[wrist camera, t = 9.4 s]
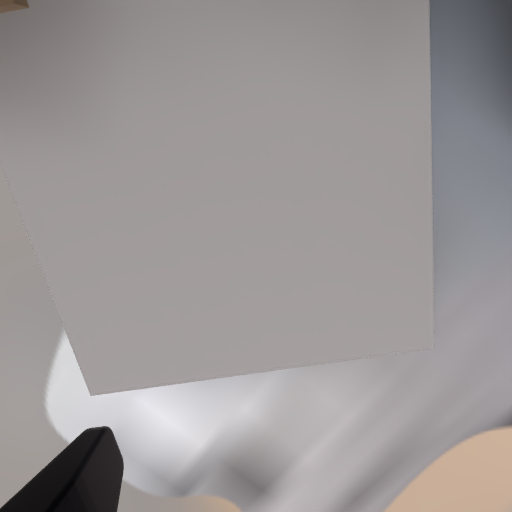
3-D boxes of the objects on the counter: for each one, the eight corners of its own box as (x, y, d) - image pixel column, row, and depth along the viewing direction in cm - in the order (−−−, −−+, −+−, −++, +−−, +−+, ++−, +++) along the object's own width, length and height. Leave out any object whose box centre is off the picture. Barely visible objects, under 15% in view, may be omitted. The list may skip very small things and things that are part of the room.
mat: (421, -76, 15) (428, -81, 14) (430, 341, 22) (434, 348, 21) (-48, 18, 16) (-58, 17, 16) (94, 387, 23) (90, 396, 22)
